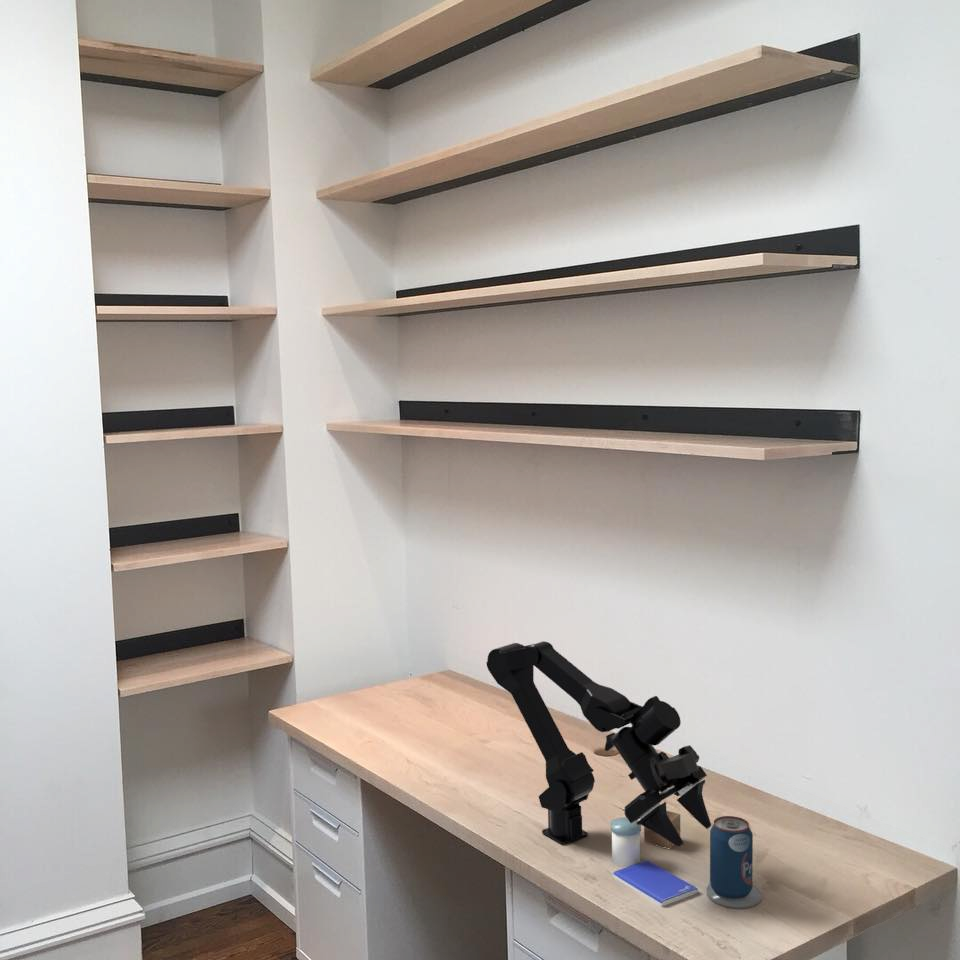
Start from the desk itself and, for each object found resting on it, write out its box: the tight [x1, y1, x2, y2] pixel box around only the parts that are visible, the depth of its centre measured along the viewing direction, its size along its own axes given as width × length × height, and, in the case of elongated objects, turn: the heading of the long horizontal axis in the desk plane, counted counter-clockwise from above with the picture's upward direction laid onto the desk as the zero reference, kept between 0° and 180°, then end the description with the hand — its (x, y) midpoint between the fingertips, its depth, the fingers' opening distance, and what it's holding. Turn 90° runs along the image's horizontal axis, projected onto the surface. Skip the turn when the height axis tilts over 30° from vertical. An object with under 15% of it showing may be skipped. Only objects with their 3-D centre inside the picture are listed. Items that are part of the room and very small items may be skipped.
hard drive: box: [612, 860, 699, 907], centre depth 178 cm, size 2×8×12 cm
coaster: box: [706, 883, 763, 910], centre depth 174 cm, size 9×9×1 cm
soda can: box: [709, 815, 754, 900], centre depth 173 cm, size 7×7×12 cm
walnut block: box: [643, 810, 681, 849], centre depth 195 cm, size 5×5×5 cm
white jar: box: [610, 817, 642, 868], centre depth 187 cm, size 5×5×7 cm
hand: (695, 836), depth 178 cm, fingers open, 9 cm apart
